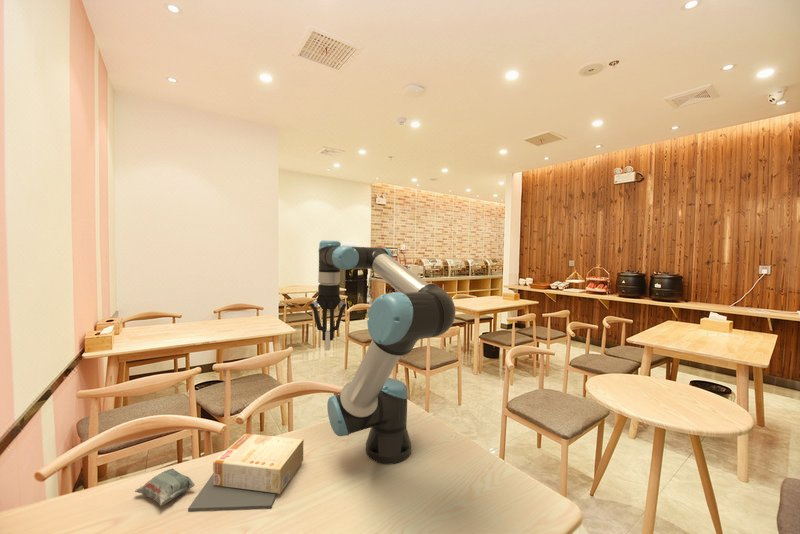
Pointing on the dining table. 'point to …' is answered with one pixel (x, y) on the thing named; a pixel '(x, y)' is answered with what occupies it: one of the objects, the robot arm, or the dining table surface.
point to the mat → (230, 498)
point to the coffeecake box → (258, 463)
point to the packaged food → (166, 486)
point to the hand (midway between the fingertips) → (327, 349)
